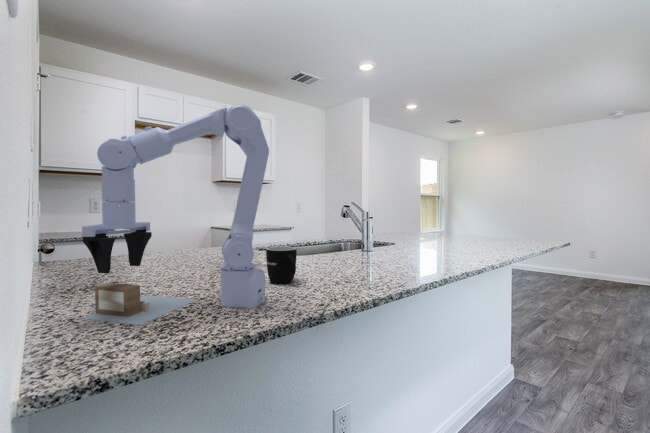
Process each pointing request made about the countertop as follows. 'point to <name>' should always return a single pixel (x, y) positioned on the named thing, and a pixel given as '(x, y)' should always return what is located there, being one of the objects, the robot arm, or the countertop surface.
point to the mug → (281, 264)
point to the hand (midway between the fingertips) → (120, 269)
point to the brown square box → (117, 299)
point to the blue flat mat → (145, 310)
